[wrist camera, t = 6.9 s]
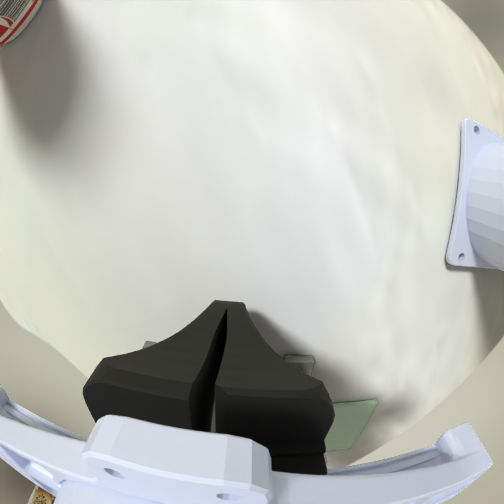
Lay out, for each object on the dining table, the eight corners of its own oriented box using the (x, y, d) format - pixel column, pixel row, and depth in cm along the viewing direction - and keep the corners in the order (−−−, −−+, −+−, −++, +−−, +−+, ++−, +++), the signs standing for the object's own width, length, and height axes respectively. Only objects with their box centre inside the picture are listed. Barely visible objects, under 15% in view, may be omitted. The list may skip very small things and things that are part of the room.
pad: (376, 399, 15) (377, 403, 14) (349, 444, 17) (350, 448, 16) (290, 404, 15) (291, 409, 14) (277, 449, 17) (277, 453, 16)
